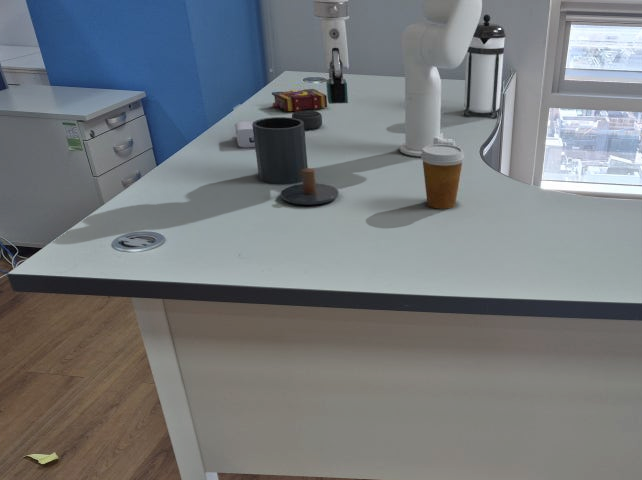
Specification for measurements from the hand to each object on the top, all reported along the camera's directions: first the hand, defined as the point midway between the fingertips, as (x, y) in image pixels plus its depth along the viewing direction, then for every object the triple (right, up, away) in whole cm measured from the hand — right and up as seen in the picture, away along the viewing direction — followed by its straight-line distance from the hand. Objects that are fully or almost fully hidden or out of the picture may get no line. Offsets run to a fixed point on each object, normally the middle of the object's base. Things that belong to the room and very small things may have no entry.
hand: (337, 98), depth 151 cm
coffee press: (+36, +24, +71) cm, 84 cm away
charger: (-30, +2, +33) cm, 45 cm away
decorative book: (-25, +25, +69) cm, 77 cm away
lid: (-5, -24, -6) cm, 25 cm away
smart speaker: (-17, +11, +48) cm, 52 cm away
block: (0, 0, 0) cm, 1 cm away
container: (-14, -16, +7) cm, 22 cm away
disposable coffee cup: (+24, -26, -6) cm, 36 cm away
